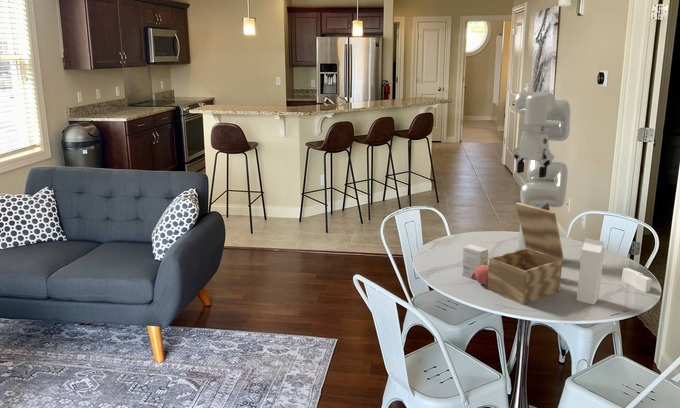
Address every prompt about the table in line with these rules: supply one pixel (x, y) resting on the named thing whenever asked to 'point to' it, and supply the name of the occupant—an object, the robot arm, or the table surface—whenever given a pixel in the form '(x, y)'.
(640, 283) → the white stepped block
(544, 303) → the table surface
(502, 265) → the wooden box
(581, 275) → the milk
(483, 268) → the apple
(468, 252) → the ink box
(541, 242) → the lid
